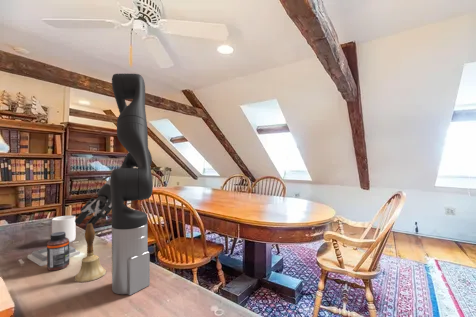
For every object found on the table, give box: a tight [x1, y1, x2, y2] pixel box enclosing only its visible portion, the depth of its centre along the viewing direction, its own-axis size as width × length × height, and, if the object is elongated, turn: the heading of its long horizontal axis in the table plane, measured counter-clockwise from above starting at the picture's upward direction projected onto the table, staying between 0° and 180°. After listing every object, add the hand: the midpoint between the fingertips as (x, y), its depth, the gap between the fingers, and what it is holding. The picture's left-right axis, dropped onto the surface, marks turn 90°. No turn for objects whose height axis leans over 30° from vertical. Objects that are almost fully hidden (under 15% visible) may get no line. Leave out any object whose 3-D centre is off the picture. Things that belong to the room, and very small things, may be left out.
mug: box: [51, 215, 77, 243], centre depth 105 cm, size 12×8×10 cm
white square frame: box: [27, 245, 81, 267], centre depth 89 cm, size 12×12×2 cm
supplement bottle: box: [46, 232, 70, 272], centre depth 80 cm, size 6×6×11 cm
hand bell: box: [74, 223, 107, 283], centre depth 74 cm, size 8×8×16 cm
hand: (82, 224), depth 86 cm, fingers open, 8 cm apart
